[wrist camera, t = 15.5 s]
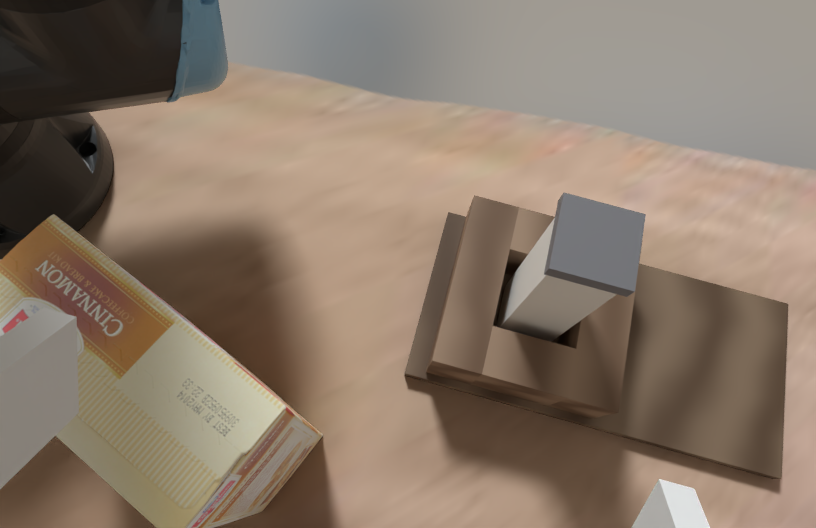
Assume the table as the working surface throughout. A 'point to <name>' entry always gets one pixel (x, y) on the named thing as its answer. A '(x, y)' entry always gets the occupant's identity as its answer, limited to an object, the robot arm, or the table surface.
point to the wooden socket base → (609, 349)
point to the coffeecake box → (155, 390)
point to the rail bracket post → (573, 268)
